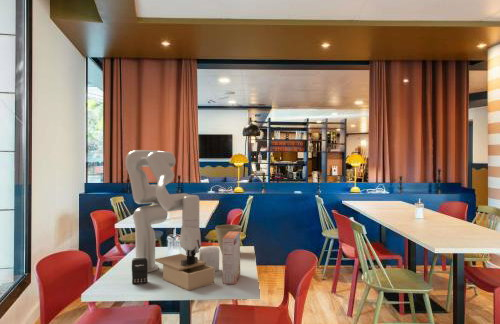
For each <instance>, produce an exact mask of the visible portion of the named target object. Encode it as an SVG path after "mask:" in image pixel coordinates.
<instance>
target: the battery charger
mask: <svg viewBox="0 0 500 324" xmlns="http://www.w3.org/2000/svg"><path fill="white" fill-rule="evenodd" d="M148 276H149V272H148V259H147V258H146V257H136V256H135V257H134V258H132V260H131V283H132V285H143V284H147V283H148V282H149V281H148V280H149V279H148Z"/></svg>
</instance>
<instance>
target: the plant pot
mask: <svg viewBox="0 0 500 324" xmlns="http://www.w3.org/2000/svg"><path fill="white" fill-rule="evenodd" d="M214 229H215V233H216V239H217V242H218V246H219V247H218V248H219V250H220V252H221V253H222V238H223V237H224V236H225V235H226V234H227V233H228V232H230V231H233V232H240V233H241V231H242V230H241V229H242V226H241V225H238V224H221V225H216V226H215V228H214Z"/></svg>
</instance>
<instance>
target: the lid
mask: <svg viewBox="0 0 500 324" xmlns="http://www.w3.org/2000/svg"><path fill="white" fill-rule="evenodd" d="M156 262H157V263H159V264H162V265H163V264H164V265H166V266H169V267H171V268H174V269H176V270H179V271H180V270H184V269H187V268H191V267H195V266H199V265H203V264H206V262H204V261H201V260H199V258H198V257H197V256H195V264H192V265H188V264H187V255H186V254H184V253H177V254H173V255H169V256H164V257H163V256H162V257H159V258H155V263H156Z"/></svg>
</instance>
